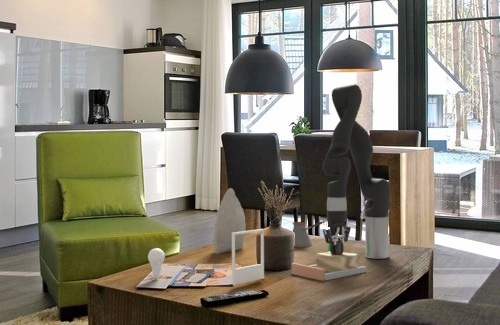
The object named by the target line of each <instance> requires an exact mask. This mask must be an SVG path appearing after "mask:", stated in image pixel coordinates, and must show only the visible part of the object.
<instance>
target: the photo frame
mask: <svg viewBox="0 0 500 325" xmlns="http://www.w3.org/2000/svg"><path fill="white" fill-rule="evenodd" d="M264 230H265V229H264V228H258V229H250V230H246V231H242V232H234V233H232V251H231V285H233V286H235V285H240V284H243V283H244V284H245V283H249V282H255V281H258V280H263V279H265V231H264ZM259 232H260V263H259V264H252V265H247V266H242V267H237V268H236V250H235V235H238V234H251V233H252V234H253V233H259Z"/></svg>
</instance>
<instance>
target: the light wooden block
mask: <svg viewBox="0 0 500 325" xmlns="http://www.w3.org/2000/svg"><path fill="white" fill-rule="evenodd" d="M350 253H351V252H344V251H343V253H342V254H341V241H337V240H336V255H332V254H331V252H328V251H325V252H319V253H316V256H315V257H316V259H315V260H316V264H317V268H321V269H325V271H328V272H336V271H341V270H346V269H351V268H356V267H359V265H358V263H359V261H358V260H359V256H358V255H356V254H357V253H355V254H350Z"/></svg>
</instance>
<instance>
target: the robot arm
mask: <svg viewBox="0 0 500 325" xmlns="http://www.w3.org/2000/svg"><path fill="white" fill-rule="evenodd" d="M362 97H363V93H362V89H361V88H360V86H359V84H358V85H357V84H354V83H352V84H346V85H341V86H337V87H334V88H333V89H332V91H331V100H332V104H333V106H334V109H335V111H336V114H337V117H338V119H339V122H338V124H337V125H336V126H335V128H334V130H333V132H332V137H331V144H330V146H329V149H328V152H326V155H325V157H324V160H323V162H322V171H323V173H324V174H325V175H326V176H339V178H338V179H337V180H333V181H330V182H328V184H327V200H326V222H328V223H327V227H326V228H323V229H322V233H323V238H324V240H325V243H326V244H328V245H329V244H330V252H331V254H332V255H336V241H341V254H342V253H343V252H344V247H345V246H344V245H345V243H346V242H348V241H349V237H350V232H351V226H347V225H346V222H347V221H348V220H347V218H348V217H347V216H348V212H347V211H348V208H347V207H348V206H347V205H348V202H347V184H348V179H349V175H350V171H351V168H352V163H351V160H350V159H349V157H348V156H347V157H346V156H343V155H346V154H348V152H349V151H350V154H351V157H352V160H353V163H354V166H355V170H356V173H357V180H358V183H359V187H360V192H361V194H362V197H363V198H365V200H369V201H373V205H372V206H371V207H369V208H367V209H366V210H365V213H364V214H365V217H364V218H365V219H364V220H365V229H364V230H365V236H364V237H365V240H364V241H365V251H364V252H365V255H364V257H366V258H368V259H387V258H388V257H390V234H389V233H388V232H389V230H388V229H389V228H388V224H389V222H388V220H389V216H388V213H389V211H390V202H391V200H390V199H391V188H390V183H389V182H388V180H386V179H385V178H374V177H373V174H372V172H371V167H370V166H371V161H372V158H373V152H374V148H373V147H374V146H373V143H372V139H371V137H370V134H369V133H368V131H367V130H366V129H365V127H364V126H362V125H361V124H360V123H359V122H358V121H357V120H356V119H357V117H358V113H359V110H360V107H361V104H362V100H363V98H362Z"/></svg>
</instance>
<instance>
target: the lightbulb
mask: <svg viewBox="0 0 500 325" xmlns="http://www.w3.org/2000/svg"><path fill="white" fill-rule="evenodd" d="M165 258H166V254H165V252H164V250H162V249H161V248H159V247H155V248H152V249H151V250H149V252H148V255H147V259H148V262H149V264H150V267H151V270H152V277H153V278H155V277H156V278H155V279H158V278H160V277H161V271H162V265H163V263H164V261H165ZM157 277H158V278H157Z"/></svg>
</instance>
